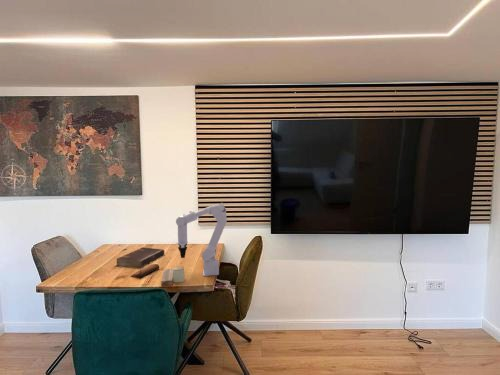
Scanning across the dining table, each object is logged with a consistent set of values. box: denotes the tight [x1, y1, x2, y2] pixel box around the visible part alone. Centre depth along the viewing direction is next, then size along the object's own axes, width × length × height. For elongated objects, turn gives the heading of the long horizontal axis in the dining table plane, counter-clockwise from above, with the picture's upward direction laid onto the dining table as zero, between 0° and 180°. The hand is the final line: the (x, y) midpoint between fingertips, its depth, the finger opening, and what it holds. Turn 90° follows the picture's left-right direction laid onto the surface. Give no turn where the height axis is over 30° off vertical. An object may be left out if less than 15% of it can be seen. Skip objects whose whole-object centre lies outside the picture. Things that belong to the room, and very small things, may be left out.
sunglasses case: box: [130, 263, 160, 279], centre depth 191 cm, size 18×7×7 cm, turn 160°
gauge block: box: [172, 266, 185, 283], centre depth 178 cm, size 6×5×7 cm
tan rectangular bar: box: [160, 268, 174, 287], centre depth 181 cm, size 6×20×3 cm, turn 12°
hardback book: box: [116, 246, 165, 269], centre depth 217 cm, size 29×19×5 cm, turn 164°
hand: (182, 256), depth 193 cm, fingers open, 7 cm apart
